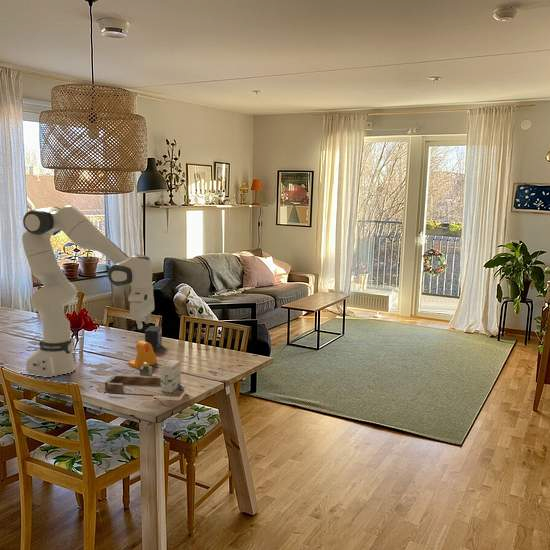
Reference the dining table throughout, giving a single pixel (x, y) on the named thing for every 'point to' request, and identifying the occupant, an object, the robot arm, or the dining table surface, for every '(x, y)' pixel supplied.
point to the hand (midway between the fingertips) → (144, 325)
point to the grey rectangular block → (146, 369)
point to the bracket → (143, 355)
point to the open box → (117, 381)
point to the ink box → (170, 375)
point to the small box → (154, 336)
